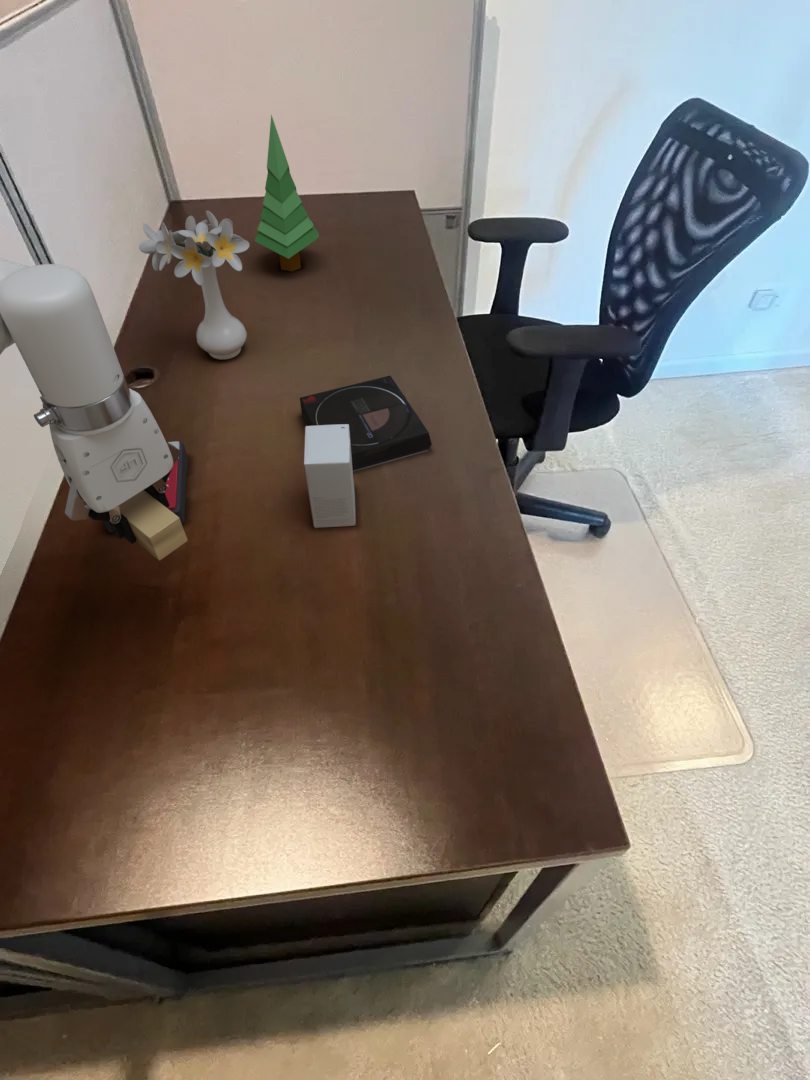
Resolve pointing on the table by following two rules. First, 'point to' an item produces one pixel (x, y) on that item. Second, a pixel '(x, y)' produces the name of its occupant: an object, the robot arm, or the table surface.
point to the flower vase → (204, 275)
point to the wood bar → (153, 524)
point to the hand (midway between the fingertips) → (144, 524)
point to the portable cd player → (370, 421)
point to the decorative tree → (283, 210)
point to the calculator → (174, 485)
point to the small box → (329, 475)
